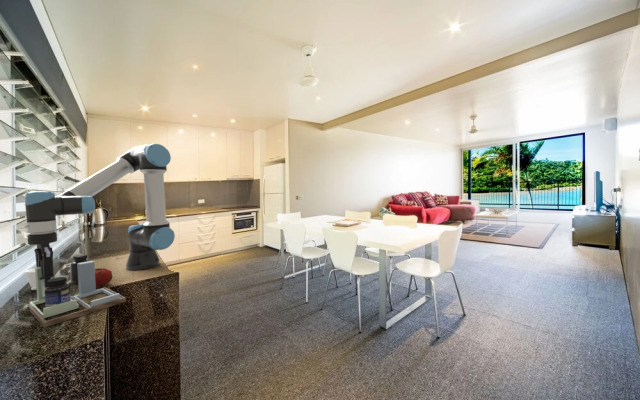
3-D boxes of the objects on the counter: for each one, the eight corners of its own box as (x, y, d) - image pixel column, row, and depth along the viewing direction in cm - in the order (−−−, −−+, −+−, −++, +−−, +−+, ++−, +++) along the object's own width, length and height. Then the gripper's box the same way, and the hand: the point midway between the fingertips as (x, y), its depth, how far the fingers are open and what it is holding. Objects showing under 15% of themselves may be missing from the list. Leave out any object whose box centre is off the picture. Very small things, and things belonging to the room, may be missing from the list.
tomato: (94, 283, 116) (93, 266, 115) (117, 281, 118) (116, 264, 117) (79, 291, 107) (78, 272, 106) (105, 289, 108) (104, 270, 108)
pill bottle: (65, 312, 88) (63, 280, 87) (41, 316, 86) (39, 283, 85) (74, 305, 94) (72, 275, 93) (52, 308, 91) (49, 277, 91)
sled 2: (100, 289, 107) (98, 259, 107) (121, 301, 96) (119, 267, 95) (71, 297, 100) (69, 264, 99) (90, 310, 88) (87, 273, 88)
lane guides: (105, 290, 107) (104, 286, 107) (125, 301, 96) (125, 297, 96) (29, 311, 90) (29, 306, 90) (44, 327, 78) (43, 322, 78)
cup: (22, 292, 107) (21, 273, 107) (33, 284, 116) (32, 267, 115) (46, 288, 110) (44, 270, 110) (55, 281, 119) (54, 264, 119)
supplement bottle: (85, 283, 117) (83, 256, 116) (67, 284, 115) (65, 258, 114) (94, 278, 123) (93, 253, 123) (77, 279, 122) (75, 254, 121)
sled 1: (62, 295, 103) (60, 263, 102) (79, 307, 91) (77, 271, 90) (28, 303, 95) (25, 269, 95) (42, 318, 83) (39, 279, 83)
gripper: (22, 232, 98) (26, 293, 99) (32, 235, 89) (37, 302, 90) (50, 229, 104) (54, 287, 105) (62, 232, 96) (66, 295, 97)
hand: (46, 294), depth 98 cm, fingers closed on sled 1, 3 cm apart
